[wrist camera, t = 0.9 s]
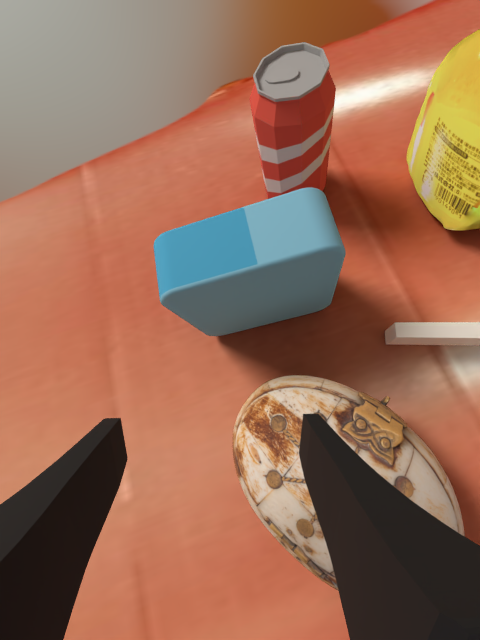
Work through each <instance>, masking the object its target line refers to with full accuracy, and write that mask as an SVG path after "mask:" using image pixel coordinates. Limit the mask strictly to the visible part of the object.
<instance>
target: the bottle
mask: <svg viewBox="0 0 480 640" xmlns="http://www.w3.org/2000/svg"><path fill="white" fill-rule="evenodd" d="M407 163H408V165H409V172H410V175H411V177H412V179H413V182H414V185H415V188H416V191H417V193H418V194H419V196H420V197H421V199H422V200H423V202H424V204H425V205H426V207H427V208H428V210H429V211H430V212H431V214H432V215H433V216H434V217H436V218H437V219H438V220H439V221H440V222H441V223H442V224H443V227H444V228H446V229H448V230H459V231H460V230H472V229H479V228H480V29H479V30H477V31H476V32H474V33H472V34H471V35H469V36H467V37H466V38H465V39H463V40H462V41H461V42H459V43H458V44H457V45H456V46H454V47H453V48H452V49H451V50H450V51H449V52H448V54H447V55H446V57H445V58H444V60H443V61H442V63H441V64H440V65H439V67H438V68H437V70H436V72H435V73H434V75H433V77H432V80H431V82H430V84H429V86H428V90H427V95H426V97H425V100H424V103H423V105H422V108H421V112H420V114H419V116H418V118H417V121H416V125H415V128H414V131H413V134H412V138H411V141H410V144H409V147H408V150H407Z"/></svg>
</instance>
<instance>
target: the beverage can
mask: <svg viewBox="0 0 480 640" xmlns="http://www.w3.org/2000/svg"><path fill="white" fill-rule="evenodd" d="M328 69H329V62H328V60H327V57H326V55H325V53H324V50H323V49H321V48H319V47H316V46H313V45H310V44H308V43H305V42H303V43H297V44H292V45H285V46H281V47H279V48H278V49H276V50H275V51H273V52H272V53H270V54H269V55H267V56H265V57H264V58H262V60H261V62H260V64H259V66H258V67H257V69H256V71H255V73H254V75H253V77H254V81H255V84H254V87H253V90H252V93H251V96H250V104H251V110H252V116H253V121H254V127H255V132H256V138H257V144H258V149H259V155H260V160H261V166H262V172H263V177H264V183H265V188H266V192H267V196H268V199H270V198H273V197H276V196H279V195H283V194H286V193H289V192H292V191H295V190H298V189H302V188H309V187H310V188H317V189H319V190H321V191H322V192H323V189H324V187H325V185H326V177H327V167H328V158H329V148H330V139H331V129H332V119H333V110H334V100H335V91H336V88H335V85H334V83H333V80H332V78H331V75H330V73H329V71H328Z"/></svg>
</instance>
